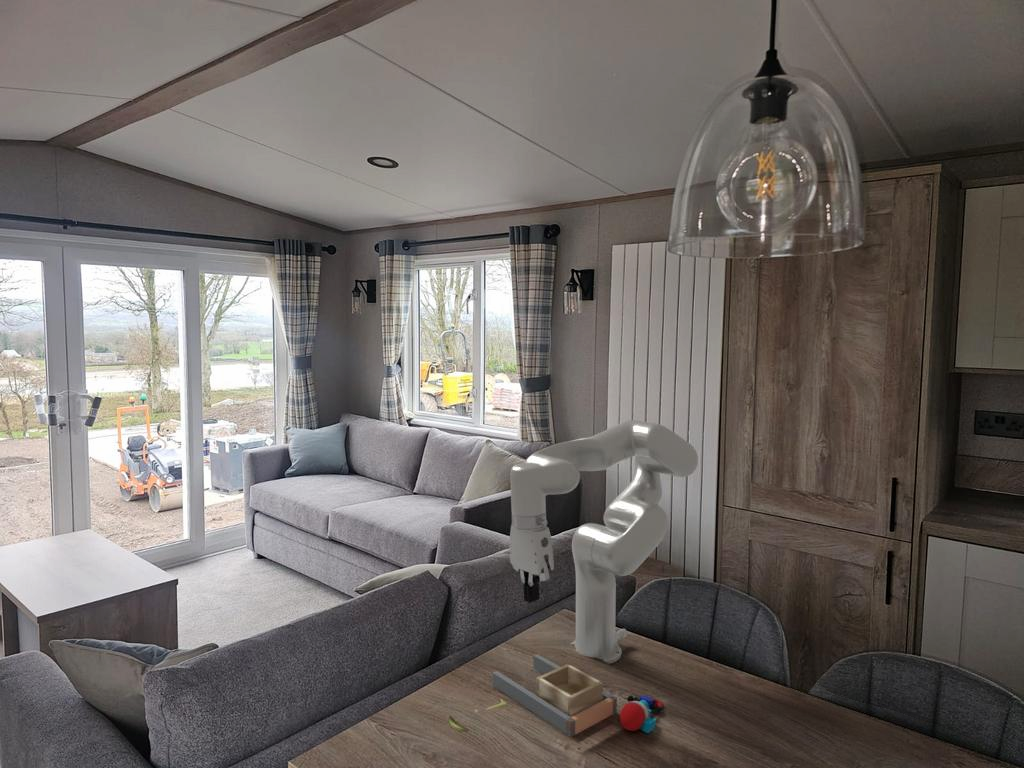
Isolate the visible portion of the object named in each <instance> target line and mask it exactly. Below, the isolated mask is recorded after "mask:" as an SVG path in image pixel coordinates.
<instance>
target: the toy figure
mask: <svg viewBox="0 0 1024 768" xmlns="http://www.w3.org/2000/svg"><path fill="white" fill-rule="evenodd" d="M627 701H629V702H627V703H625V704H624V705H623V707H622V708H621V710H620V713H619V722H620V724H621V726H622V727H623V728H624V729H625V730H626V731H630V732H633V731H634V732H635V731H637V730H639V729H640V730H641V731H642V732H644V733H647V734H649V733H651V732H652V731H653V730H654V729H655V727H656V722H657V721H656V718H654V717H653V718H651V717H652V716H651V715H652V714H653V713H655V712H657V713H660V712H662V711H663V707H664V703H663V702H661V701H659V700H656V699H654V698H652V697H649V696H646V695H641V696H640V697H639V698H638V697H637V696H633V695H629V696H628V697H627ZM649 715H650V716H649Z"/></svg>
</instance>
